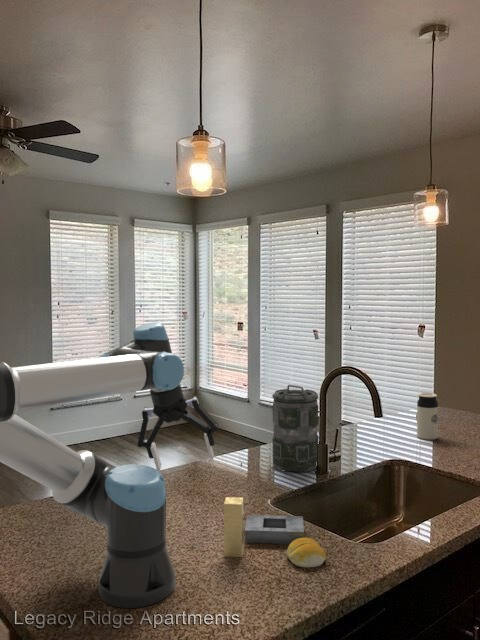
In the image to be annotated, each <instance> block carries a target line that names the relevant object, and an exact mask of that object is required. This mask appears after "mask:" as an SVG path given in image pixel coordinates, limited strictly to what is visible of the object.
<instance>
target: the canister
mask: <svg viewBox="0 0 480 640" xmlns="http://www.w3.org/2000/svg"><path fill="white" fill-rule="evenodd" d="M290 387H291V388H296V389H290ZM271 397H272V398H273V399H272V400H273V403H272V423H273V436H272V445H271V446H272V465H273V466H274V468H275V469H277V468H278V469H277V470H279V469H280V471H282V470H285V471H286V470H287V471H288V472H297V473H298V472H303V473H308V472H311V470H312V471H314V470H316V469H315V468H317V467H316V462H317V444H318V443H319V435H318V425H319V404H318V399H319V395H318V393H317V392H316V391H315V390H311V389H305V390H304V387H303V386H299V385H293V384H288V385H287V386H286V388H283V389H279V390H275V391H274V392H273V394H272V396H271ZM307 471H308V472H307Z"/></svg>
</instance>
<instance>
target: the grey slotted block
mask: <svg viewBox="0 0 480 640" xmlns="http://www.w3.org/2000/svg"><path fill="white" fill-rule="evenodd" d="M304 527H305V526H304V517H303V516H302V515H301V516H298V515H294V516H293V515H267V514H266V515H265V514H263V515H262V514H261V515H260V514H259V515H257V514H247V515H246V520H245V526H244V544H269V543H271V545H272V544H273V545H274V544H276V545H280V544H281V545H290V544H291V543H292V542H293V541H294V540H296V539H298V538H305V528H304Z"/></svg>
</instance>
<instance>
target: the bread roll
mask: <svg viewBox="0 0 480 640" xmlns="http://www.w3.org/2000/svg"><path fill="white" fill-rule="evenodd" d="M286 557H287V559H288V560H290V561H291V563H292V565H293V564H294V565H295V566H297V567H300V568H317V567H319V566H322V565H323V563H324V561H326V558H327V553H326V550H324V548H323V547H321V546H320V544H319V543H318V542H317V541H316V540H314V539H313V538H309V537H304V538H298V539H296V540H294V541H293V542H292V543H291V544H288V547H287V550H286Z"/></svg>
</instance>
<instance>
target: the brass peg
mask: <svg viewBox="0 0 480 640" xmlns="http://www.w3.org/2000/svg"><path fill="white" fill-rule="evenodd" d="M223 516H224V517H223V528H224V530H223V531H224V532H223V533H224V535H223V536H224V537H223V541H224V543H223V544H224V547H223V548H224V551H223V552H224V558H225V557H226V558H227V557H229V558H230V557H231V558H233V557H234V558H243V554H244V547H245V545H244V544H245V526H244V497H231V496H226V497H225V500H224V502H223Z"/></svg>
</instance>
